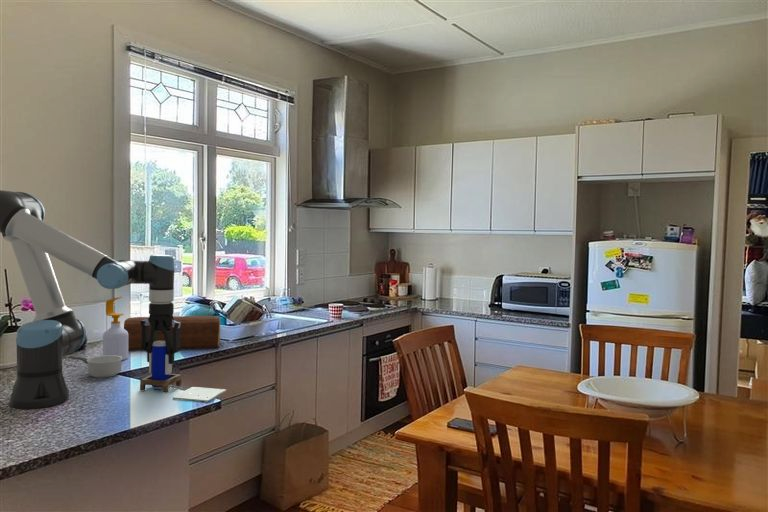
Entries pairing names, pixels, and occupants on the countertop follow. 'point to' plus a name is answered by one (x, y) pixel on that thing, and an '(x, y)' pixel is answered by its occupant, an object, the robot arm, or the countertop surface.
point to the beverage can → (159, 362)
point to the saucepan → (102, 365)
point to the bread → (191, 332)
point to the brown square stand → (161, 382)
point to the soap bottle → (115, 335)
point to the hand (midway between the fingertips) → (160, 372)
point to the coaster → (200, 394)
